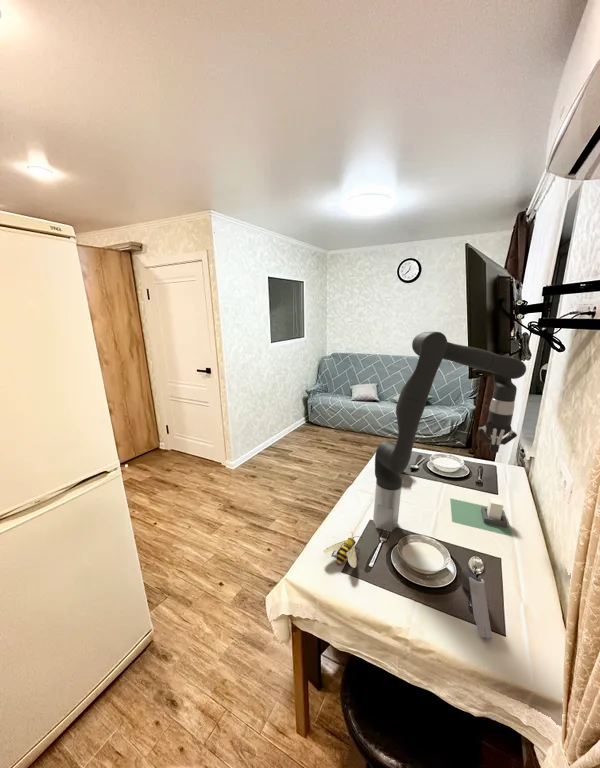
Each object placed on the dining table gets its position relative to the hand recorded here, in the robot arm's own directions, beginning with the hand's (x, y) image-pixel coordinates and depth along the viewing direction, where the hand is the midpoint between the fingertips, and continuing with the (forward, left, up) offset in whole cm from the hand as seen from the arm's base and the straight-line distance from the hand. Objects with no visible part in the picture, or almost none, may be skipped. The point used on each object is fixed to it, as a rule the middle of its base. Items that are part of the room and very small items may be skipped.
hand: (493, 452), depth 121 cm
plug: (-5, -3, -26) cm, 26 cm away
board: (-5, +2, -27) cm, 28 cm away
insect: (-43, +46, -27) cm, 69 cm away
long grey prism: (-48, +8, -27) cm, 56 cm away
